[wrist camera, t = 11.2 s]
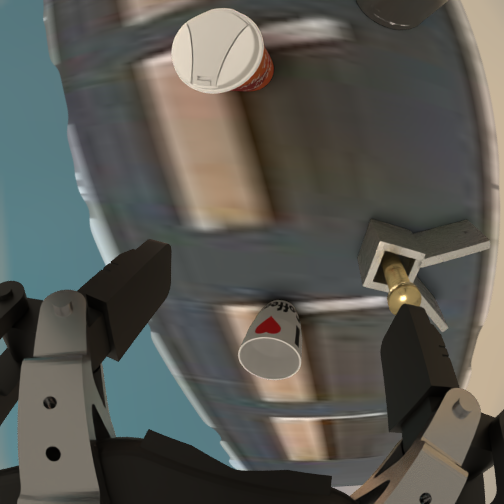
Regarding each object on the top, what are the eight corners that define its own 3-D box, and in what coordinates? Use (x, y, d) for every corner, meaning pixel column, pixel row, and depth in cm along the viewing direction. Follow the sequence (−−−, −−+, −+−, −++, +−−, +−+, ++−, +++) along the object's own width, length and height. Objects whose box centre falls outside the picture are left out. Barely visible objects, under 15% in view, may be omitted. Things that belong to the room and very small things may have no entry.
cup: (316, 304, 43) (312, 352, 34) (293, 340, 47) (284, 387, 38) (265, 283, 43) (250, 327, 34) (247, 321, 47) (230, 365, 38)
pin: (375, 229, 36) (397, 283, 25) (398, 236, 36) (427, 291, 24) (367, 252, 38) (383, 312, 26) (390, 258, 37) (412, 319, 26)
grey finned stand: (379, 189, 34) (391, 206, 28) (469, 220, 32) (492, 241, 26) (348, 282, 40) (351, 313, 34) (432, 303, 38) (445, 332, 32)
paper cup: (276, 105, 32) (249, 99, 20) (215, 94, 33) (158, 88, 21) (288, 45, 28) (269, 7, 16) (226, 37, 29) (176, 4, 17)
